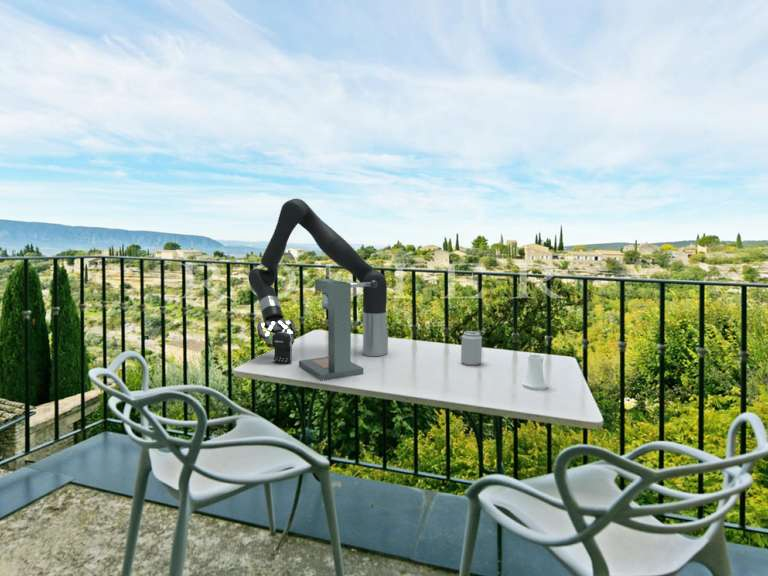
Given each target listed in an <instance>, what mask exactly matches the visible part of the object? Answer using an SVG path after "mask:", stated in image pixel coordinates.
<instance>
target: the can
mask: <svg viewBox="0 0 768 576" xmlns="http://www.w3.org/2000/svg"><path fill="white" fill-rule="evenodd" d="M482 342H483V338H482V336H481V332H478V331H473V330H470V331H469V330H467V331H463V334H462V335H461V348H460V349H461V350H460V362H462V364H463V365H465V366H471V367H472V366H478V365H480V364H481V363H482V345H483V343H482Z"/></svg>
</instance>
